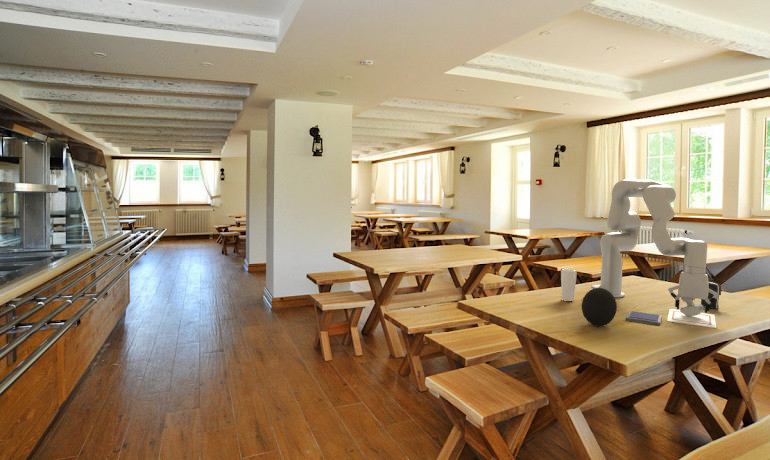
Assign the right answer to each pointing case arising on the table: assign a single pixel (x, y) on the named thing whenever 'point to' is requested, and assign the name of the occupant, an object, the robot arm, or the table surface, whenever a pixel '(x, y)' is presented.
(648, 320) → the ink pad
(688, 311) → the stamp
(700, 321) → the paper sheet
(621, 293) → the robot arm
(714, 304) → the battery charger
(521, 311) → the table surface
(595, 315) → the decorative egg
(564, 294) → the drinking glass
